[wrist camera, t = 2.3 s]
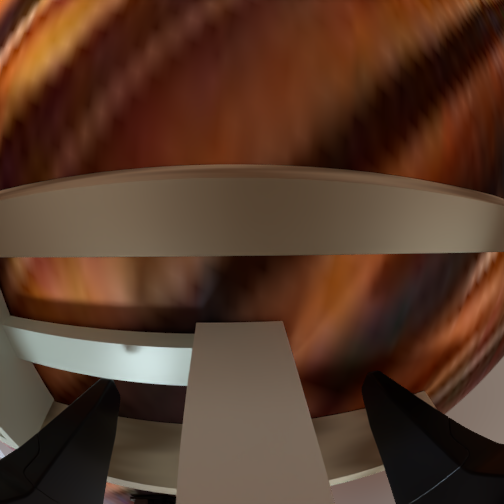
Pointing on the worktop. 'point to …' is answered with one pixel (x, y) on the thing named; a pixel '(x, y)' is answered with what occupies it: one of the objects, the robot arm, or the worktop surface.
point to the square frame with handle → (186, 401)
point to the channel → (243, 244)
